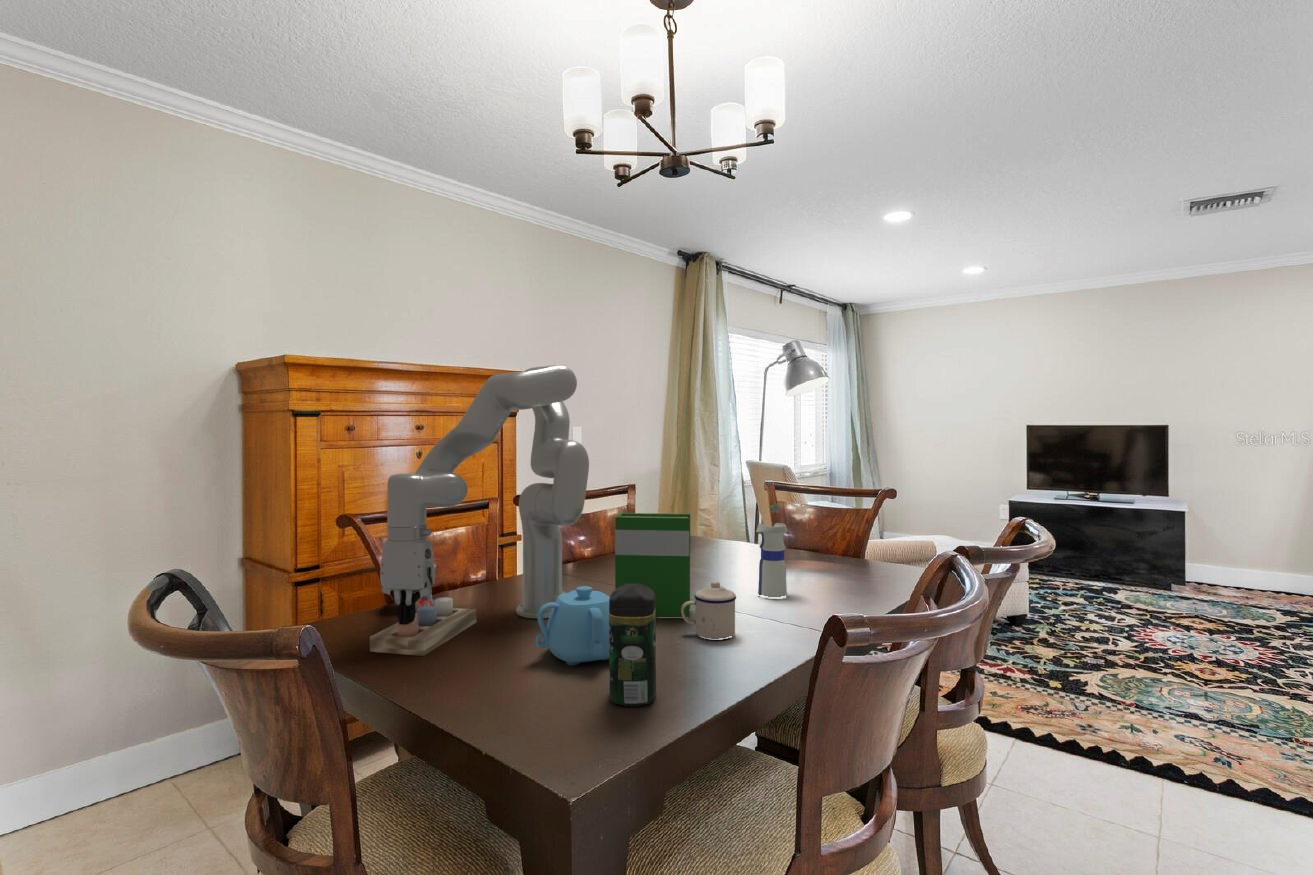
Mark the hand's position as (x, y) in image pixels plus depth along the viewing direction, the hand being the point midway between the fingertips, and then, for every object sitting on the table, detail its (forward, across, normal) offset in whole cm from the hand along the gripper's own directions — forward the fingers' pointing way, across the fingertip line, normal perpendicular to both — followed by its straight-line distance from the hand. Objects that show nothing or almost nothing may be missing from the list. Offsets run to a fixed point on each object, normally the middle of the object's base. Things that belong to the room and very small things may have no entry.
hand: (406, 622), depth 130 cm
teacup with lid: (+5, -60, -20) cm, 64 cm away
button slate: (+3, 0, -7) cm, 8 cm away
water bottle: (+5, -73, -55) cm, 92 cm away
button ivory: (+3, 0, -14) cm, 15 cm away
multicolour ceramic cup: (+5, +14, -27) cm, 31 cm away
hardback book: (+5, -45, -33) cm, 56 cm away
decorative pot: (+5, -37, -3) cm, 38 cm away
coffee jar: (+5, -51, +14) cm, 53 cm away
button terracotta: (+4, 0, 0) cm, 4 cm away
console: (+5, 0, -7) cm, 9 cm away
